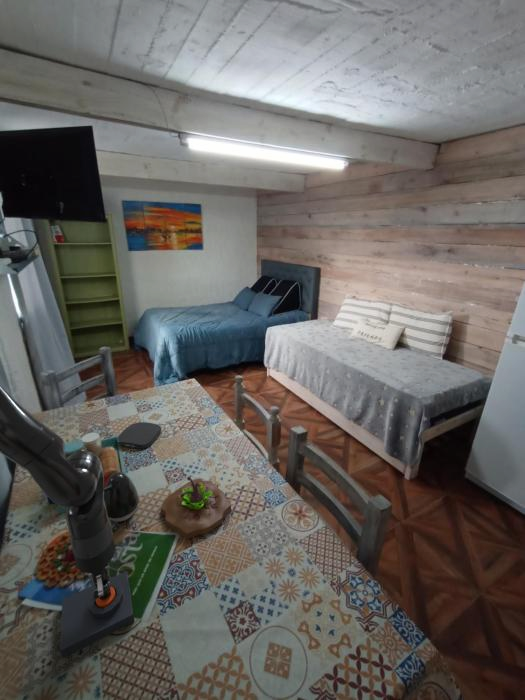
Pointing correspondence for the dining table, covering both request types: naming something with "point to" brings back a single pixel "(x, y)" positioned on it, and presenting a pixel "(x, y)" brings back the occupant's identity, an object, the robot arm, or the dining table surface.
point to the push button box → (94, 616)
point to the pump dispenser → (120, 497)
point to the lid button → (106, 600)
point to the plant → (195, 508)
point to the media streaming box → (139, 435)
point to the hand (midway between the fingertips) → (105, 595)
